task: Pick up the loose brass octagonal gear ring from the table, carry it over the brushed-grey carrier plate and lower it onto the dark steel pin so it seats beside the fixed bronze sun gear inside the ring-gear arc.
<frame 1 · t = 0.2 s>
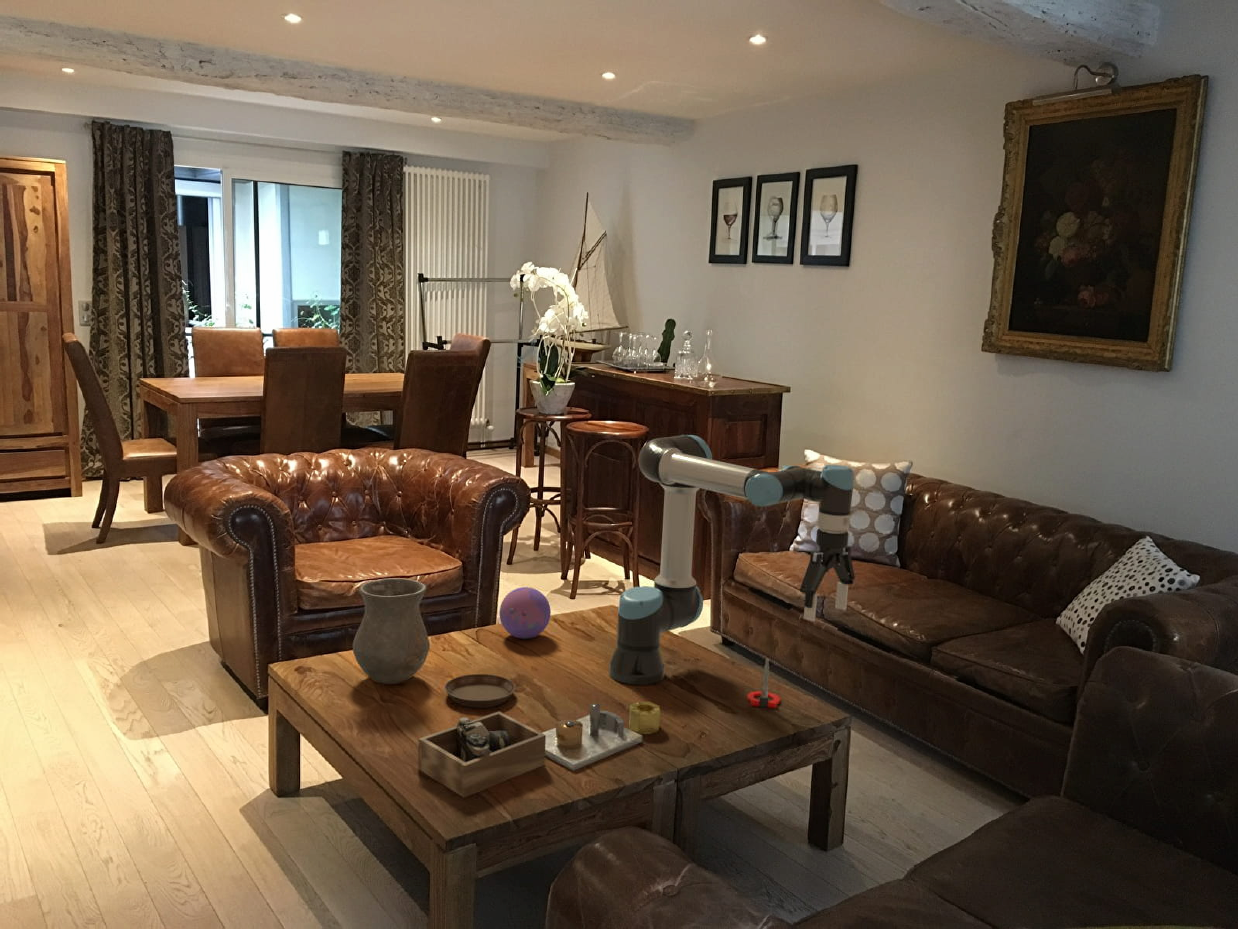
hand: (825, 614, 249), 28 cm above the table, fingers open, 13 cm apart
carrier: (584, 743, 235), on the table
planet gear: (643, 727, 245), on the table
camera: (485, 767, 220), resting in camera caddy
vase: (391, 680, 266), on the table
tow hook: (763, 702, 265), on the table
decorative ball: (524, 637, 302), on the table
plant saucer: (479, 698, 258), on the table
camera caddy: (482, 767, 221), on the table
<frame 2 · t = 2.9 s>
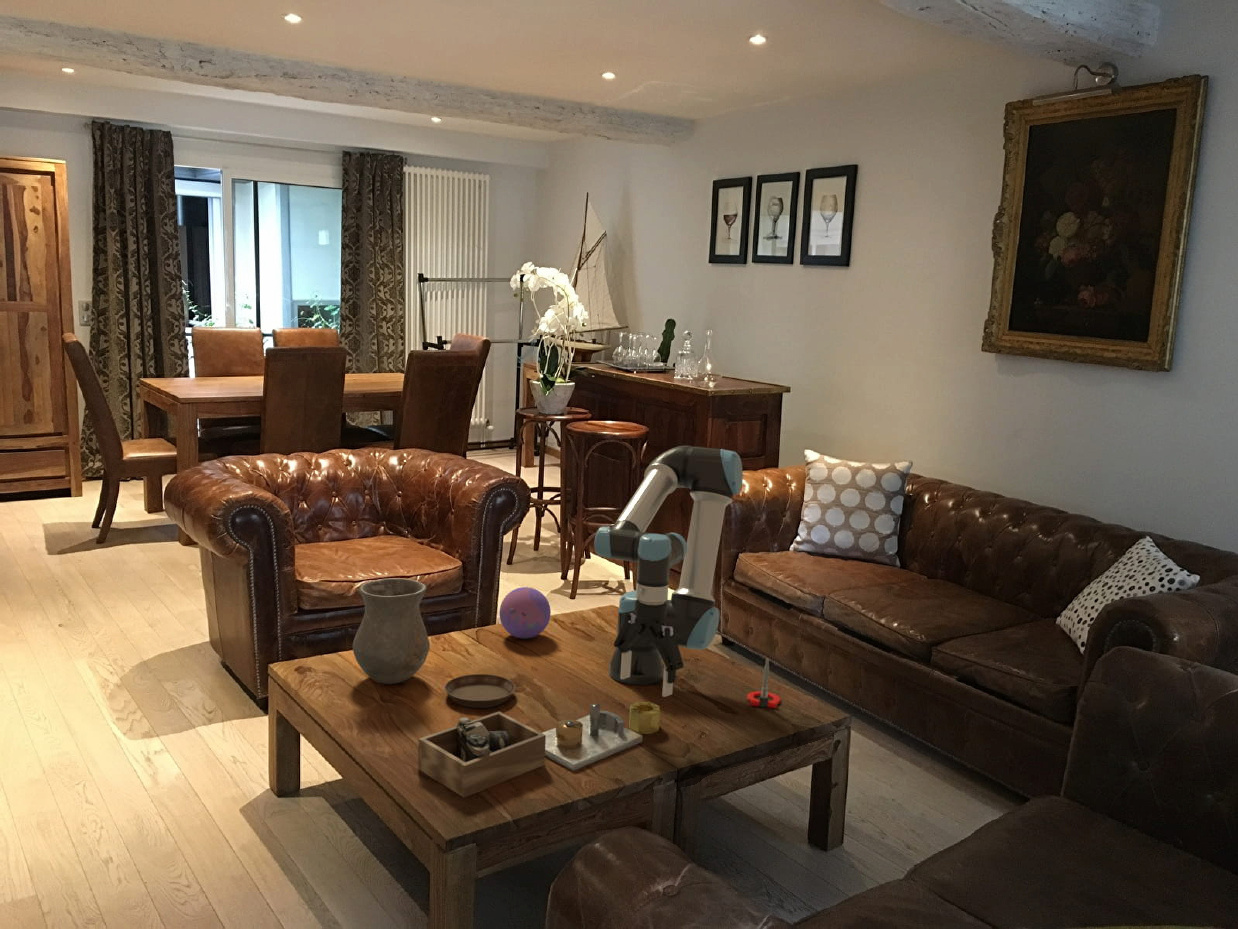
hand: (645, 686, 243), 11 cm above the table, fingers open, 13 cm apart
nothing on the table moved.
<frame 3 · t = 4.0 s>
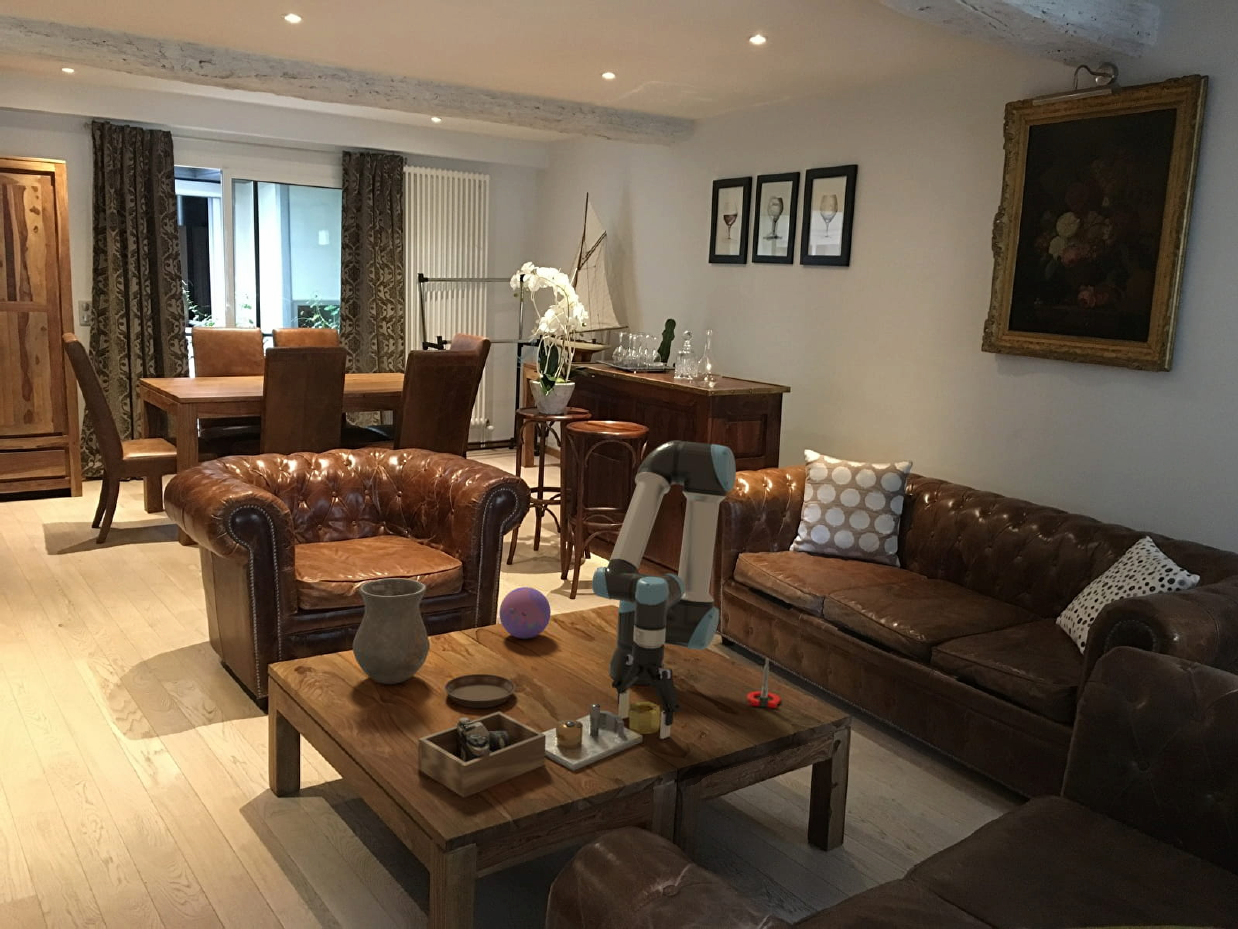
hand: (643, 727, 245), 0 cm above the table, fingers open, 13 cm apart
nothing on the table moved.
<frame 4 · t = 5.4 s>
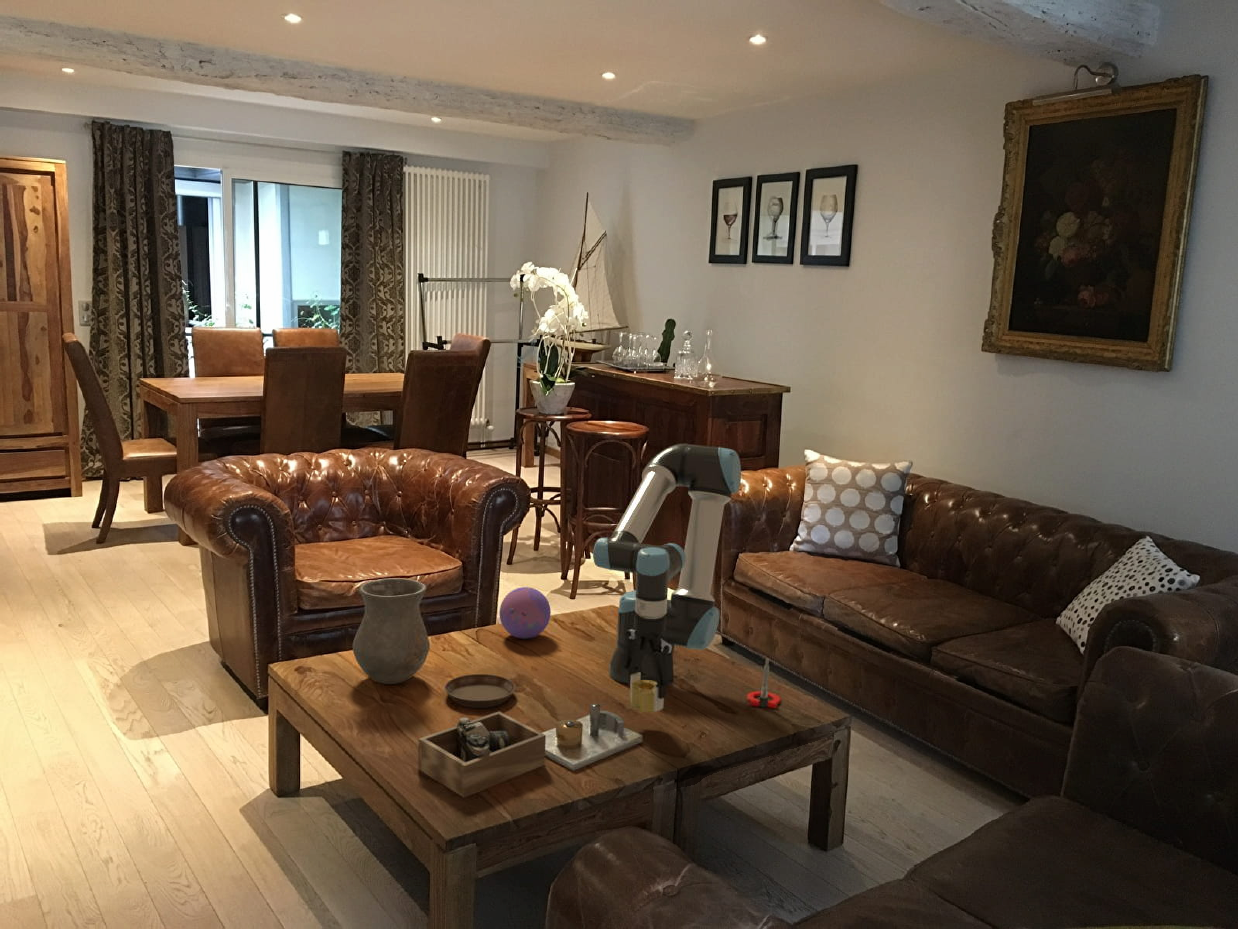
hand: (646, 704, 245), 6 cm above the table, fingers closed on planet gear, 7 cm apart
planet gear: (645, 705, 245), point 5 cm above the table, touching gripper
everything else where it was.
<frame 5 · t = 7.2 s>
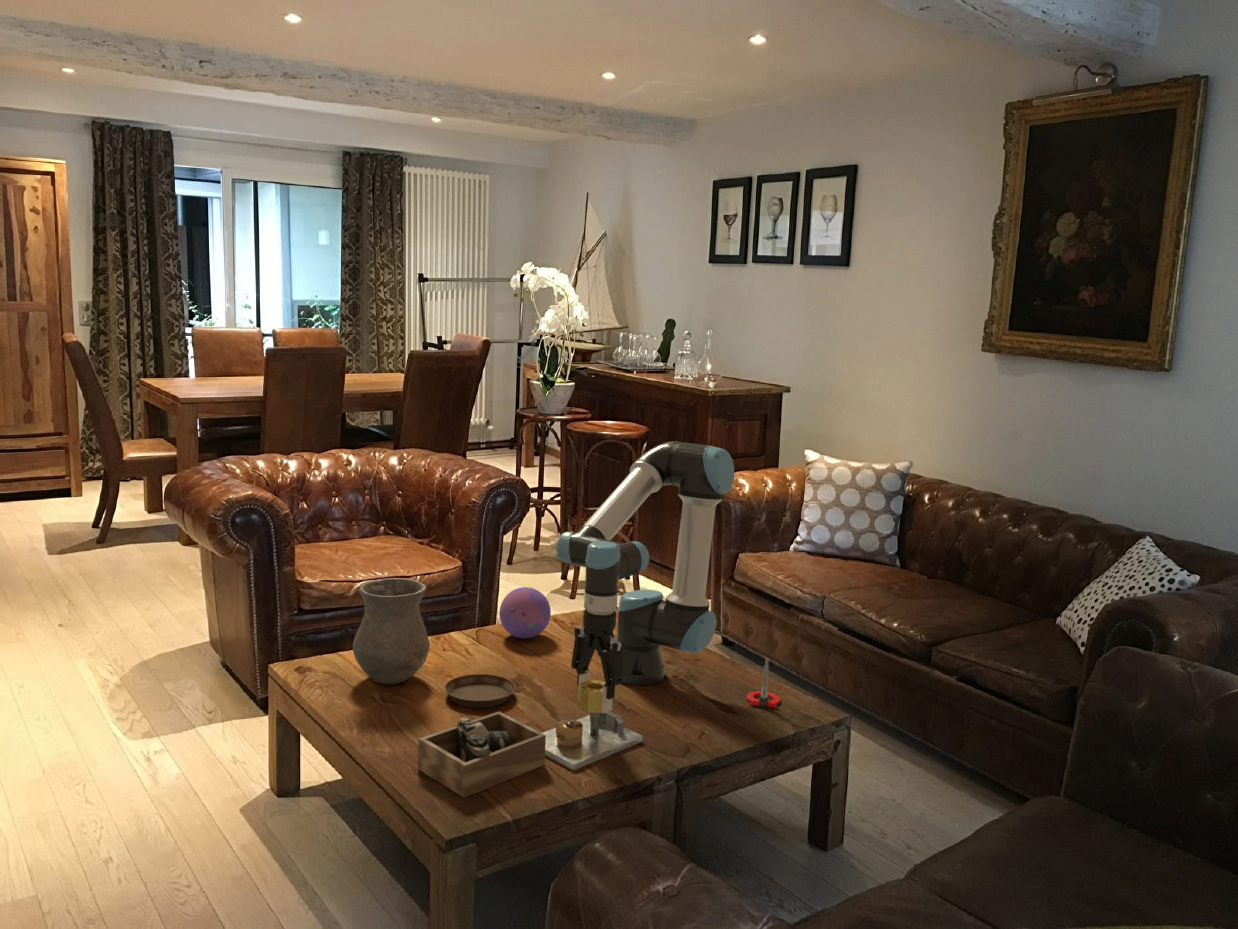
hand: (594, 705, 235), 9 cm above the table, fingers closed on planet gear, 7 cm apart
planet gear: (593, 706, 235), point 8 cm above the table, touching gripper
everything else where it was.
when the fingers open (3 cm above the table, at t = 8.8 s): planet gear stays where it is, resting on carrier.
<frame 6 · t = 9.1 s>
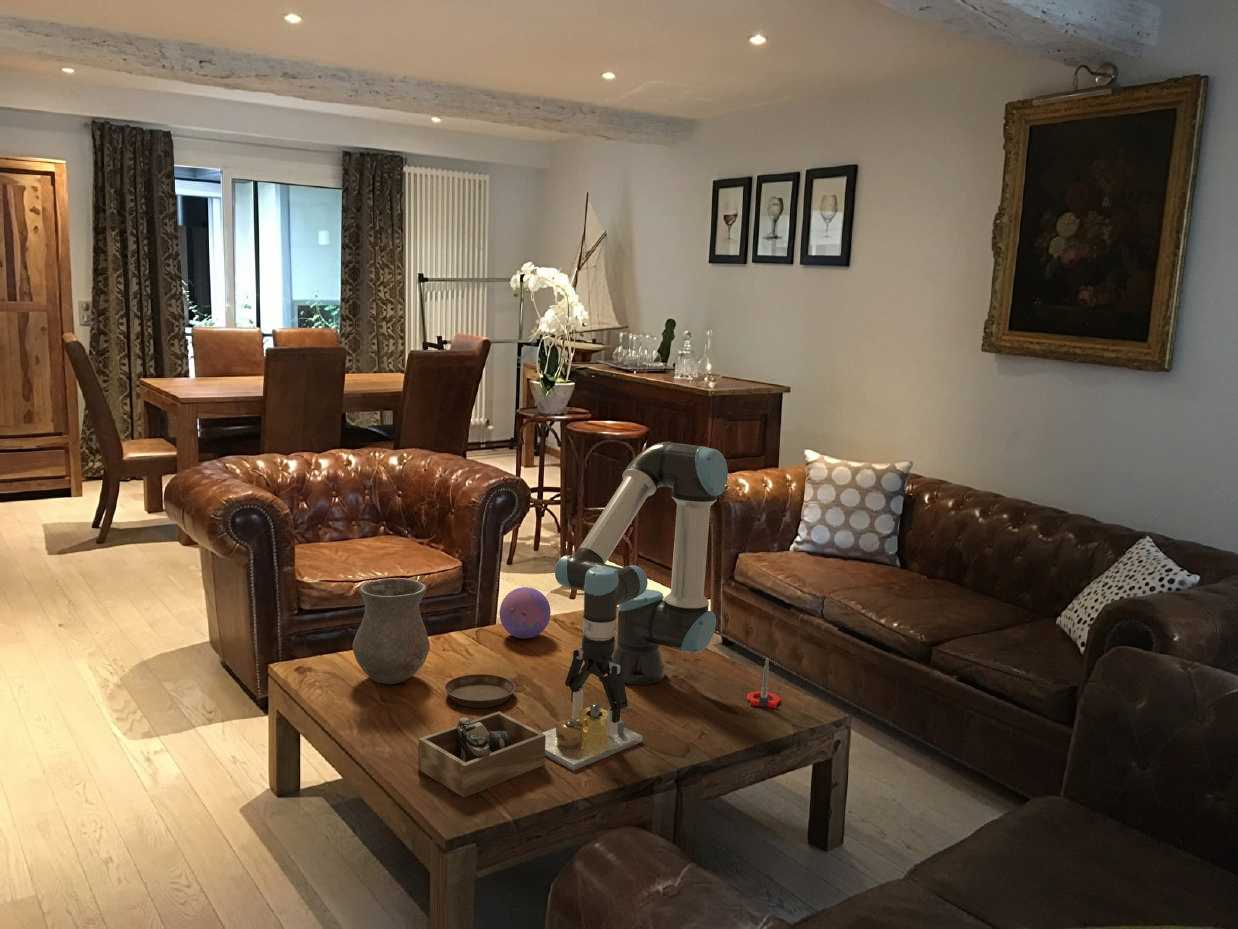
hand: (594, 725, 236), 3 cm above the table, fingers open, 11 cm apart
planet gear: (593, 734, 237), point 1 cm above the table, touching carrier
everything else where it was.
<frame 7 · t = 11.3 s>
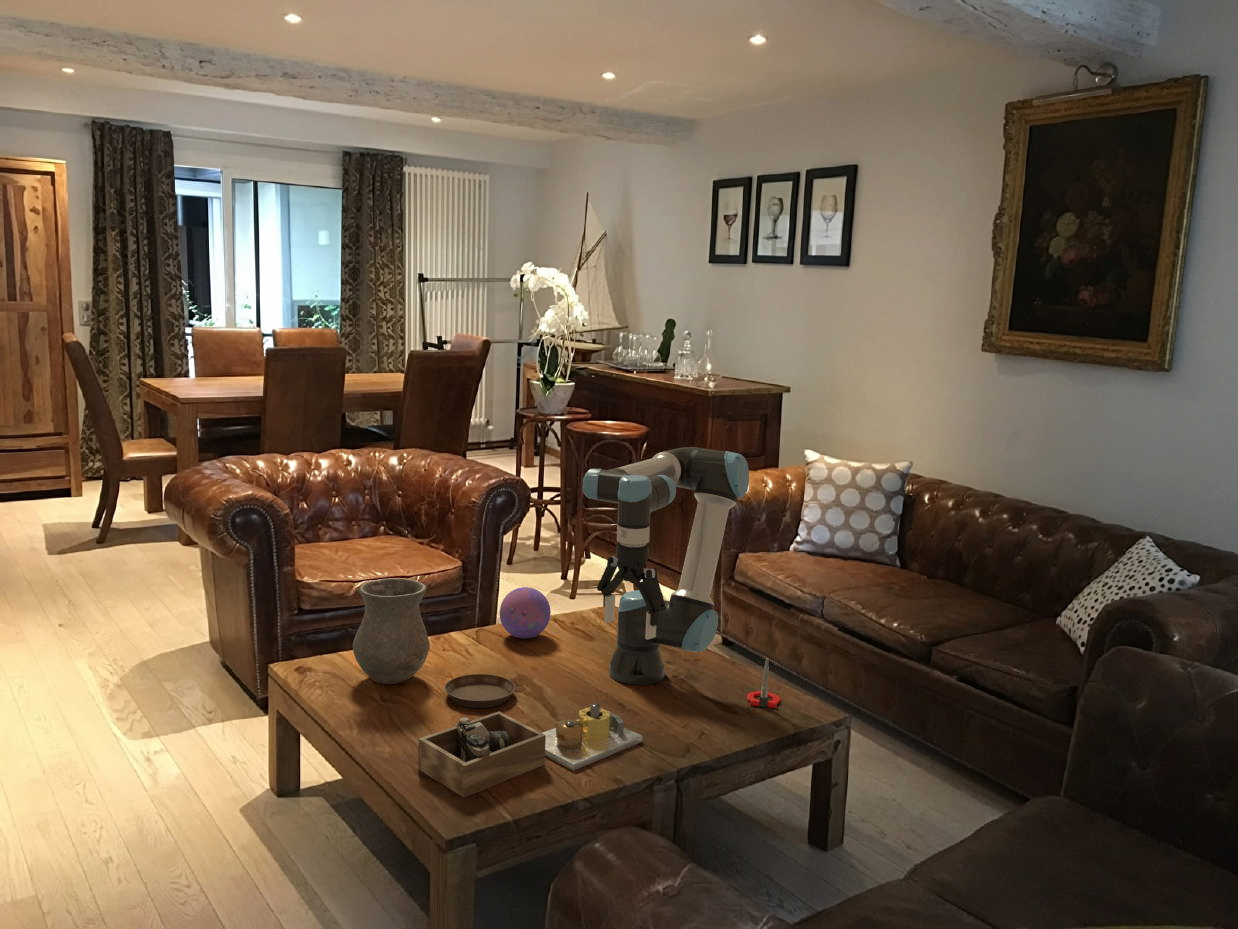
hand: (629, 629, 240), 25 cm above the table, fingers open, 13 cm apart
nothing on the table moved.
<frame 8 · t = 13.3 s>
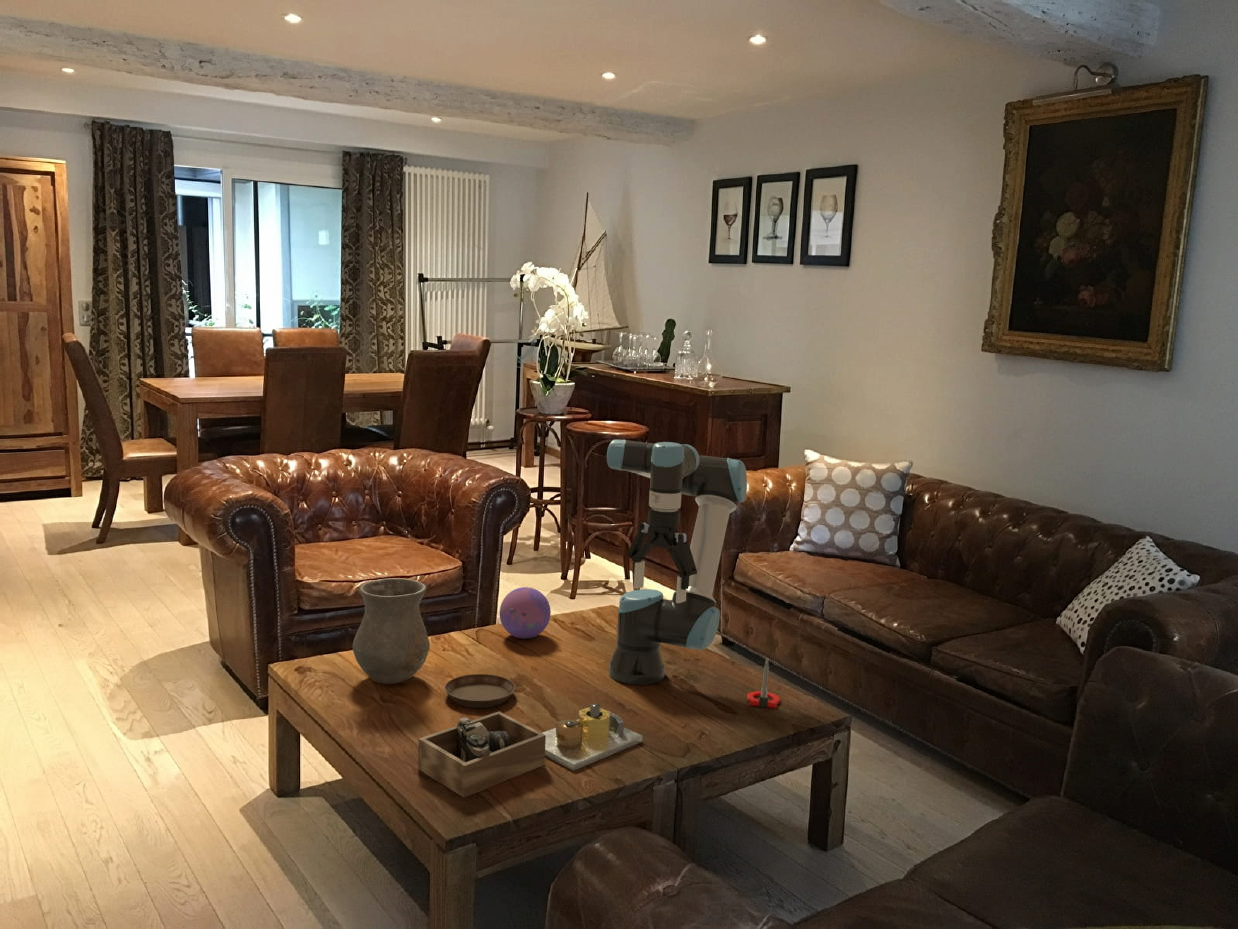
hand: (659, 594, 244), 32 cm above the table, fingers open, 13 cm apart
nothing on the table moved.
at the end: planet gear 0.2 cm from the target spot on the carrier, point 1.5 cm above the carrier's base; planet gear tilted 0°; the gripper is holding nothing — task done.
